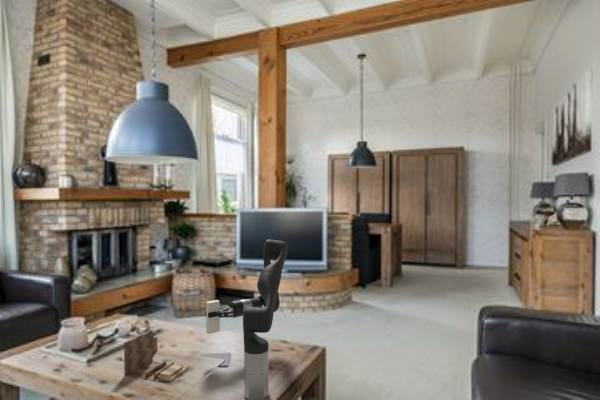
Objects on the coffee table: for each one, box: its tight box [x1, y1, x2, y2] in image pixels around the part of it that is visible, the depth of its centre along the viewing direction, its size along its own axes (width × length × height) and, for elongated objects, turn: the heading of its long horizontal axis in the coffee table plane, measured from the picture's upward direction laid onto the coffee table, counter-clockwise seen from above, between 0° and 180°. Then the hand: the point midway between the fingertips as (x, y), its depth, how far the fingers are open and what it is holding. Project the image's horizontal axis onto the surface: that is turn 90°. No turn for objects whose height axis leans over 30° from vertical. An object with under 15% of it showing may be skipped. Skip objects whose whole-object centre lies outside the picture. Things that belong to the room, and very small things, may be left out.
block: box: [205, 299, 221, 335], centre depth 184 cm, size 6×2×14 cm, turn 127°
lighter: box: [153, 331, 159, 353], centre depth 193 cm, size 8×3×10 cm, turn 105°
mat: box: [199, 352, 232, 368], centre depth 185 cm, size 14×14×1 cm
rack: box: [123, 329, 195, 385], centre depth 171 cm, size 16×23×15 cm
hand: (206, 314), depth 182 cm, fingers closed on block, 2 cm apart
